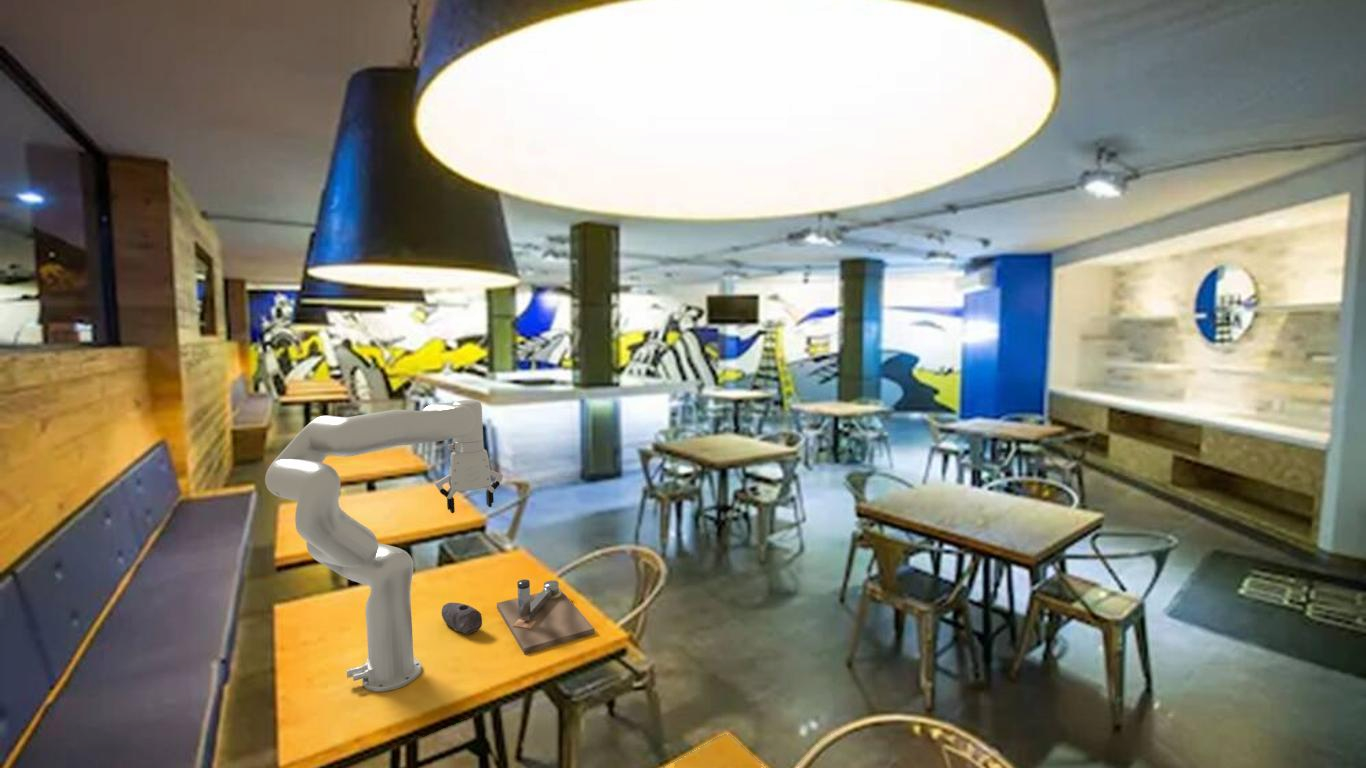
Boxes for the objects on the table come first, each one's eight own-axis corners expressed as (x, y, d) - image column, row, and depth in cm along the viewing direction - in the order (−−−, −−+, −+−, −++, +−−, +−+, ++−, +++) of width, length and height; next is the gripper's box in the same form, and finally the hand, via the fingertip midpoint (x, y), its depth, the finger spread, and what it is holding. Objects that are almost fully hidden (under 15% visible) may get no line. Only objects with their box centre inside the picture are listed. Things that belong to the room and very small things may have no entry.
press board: (524, 654, 150) (524, 647, 150) (496, 608, 174) (496, 602, 174) (594, 633, 160) (594, 627, 160) (559, 592, 184) (559, 587, 183)
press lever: (514, 624, 160) (513, 584, 159) (547, 588, 182) (546, 552, 180) (529, 625, 159) (528, 585, 158) (560, 589, 181) (560, 553, 179)
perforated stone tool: (435, 623, 165) (434, 600, 164) (452, 616, 169) (451, 593, 169) (467, 641, 156) (466, 616, 156) (484, 632, 161) (483, 608, 160)
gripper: (436, 453, 151) (439, 518, 153) (504, 445, 160) (506, 507, 162) (431, 447, 157) (434, 510, 159) (497, 440, 166) (499, 500, 168)
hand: (470, 508), depth 160 cm, fingers open, 9 cm apart
